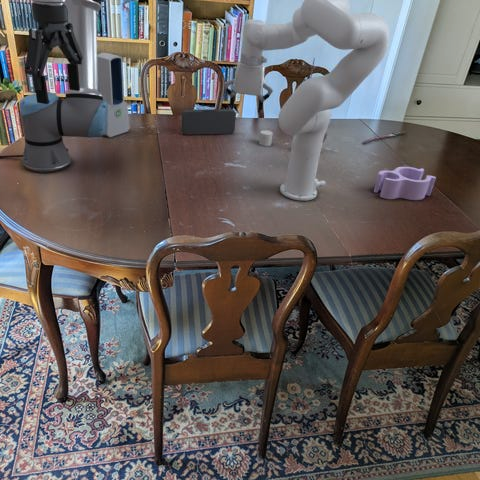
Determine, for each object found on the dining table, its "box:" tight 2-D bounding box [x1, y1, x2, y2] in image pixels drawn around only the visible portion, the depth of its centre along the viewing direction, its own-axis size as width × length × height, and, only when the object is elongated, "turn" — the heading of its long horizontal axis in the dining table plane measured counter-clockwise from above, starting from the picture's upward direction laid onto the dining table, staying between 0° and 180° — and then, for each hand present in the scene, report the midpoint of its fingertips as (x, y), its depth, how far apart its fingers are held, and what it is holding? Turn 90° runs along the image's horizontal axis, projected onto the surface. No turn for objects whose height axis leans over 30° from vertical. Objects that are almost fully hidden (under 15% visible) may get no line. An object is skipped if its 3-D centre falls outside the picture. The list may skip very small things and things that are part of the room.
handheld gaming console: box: [180, 108, 237, 135], centre depth 196 cm, size 23×3×10 cm, turn 108°
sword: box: [363, 132, 408, 145], centre depth 213 cm, size 31×3×1 cm, turn 126°
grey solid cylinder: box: [258, 129, 274, 147], centre depth 193 cm, size 5×5×5 cm
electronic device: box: [97, 52, 131, 138], centre depth 181 cm, size 12×8×30 cm, turn 148°
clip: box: [373, 166, 437, 201], centre depth 164 cm, size 20×12×7 cm, turn 109°
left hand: (59, 96), depth 118 cm, fingers open, 13 cm apart
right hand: (245, 109), depth 167 cm, fingers open, 9 cm apart
